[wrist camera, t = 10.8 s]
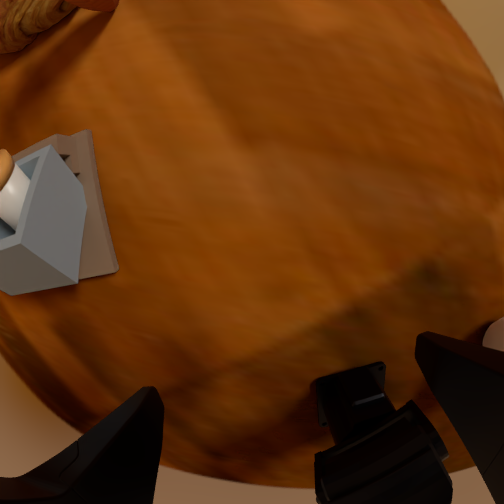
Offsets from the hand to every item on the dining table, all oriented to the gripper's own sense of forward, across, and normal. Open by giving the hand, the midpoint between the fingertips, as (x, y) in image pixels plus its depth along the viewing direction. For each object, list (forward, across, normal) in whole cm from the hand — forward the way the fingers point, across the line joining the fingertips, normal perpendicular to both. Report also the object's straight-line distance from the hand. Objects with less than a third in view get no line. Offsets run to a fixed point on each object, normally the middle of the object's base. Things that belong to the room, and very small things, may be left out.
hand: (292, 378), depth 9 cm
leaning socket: (+13, +15, -7) cm, 21 cm away
